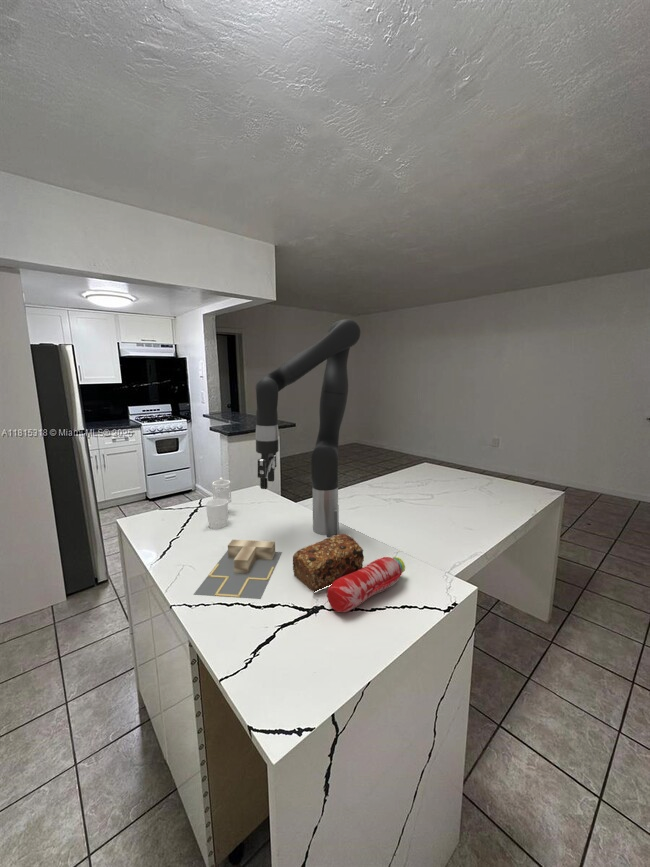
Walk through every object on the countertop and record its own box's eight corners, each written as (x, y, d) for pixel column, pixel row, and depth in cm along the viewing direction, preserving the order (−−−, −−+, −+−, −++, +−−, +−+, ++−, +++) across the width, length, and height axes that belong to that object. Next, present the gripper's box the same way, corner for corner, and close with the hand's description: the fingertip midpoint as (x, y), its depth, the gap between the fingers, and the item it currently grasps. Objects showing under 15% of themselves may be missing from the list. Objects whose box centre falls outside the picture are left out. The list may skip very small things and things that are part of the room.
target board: (282, 554, 114) (282, 551, 114) (260, 602, 90) (260, 598, 90) (228, 552, 116) (228, 548, 116) (193, 598, 92) (193, 593, 92)
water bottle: (313, 574, 91) (378, 544, 107) (316, 605, 91) (381, 570, 107) (344, 588, 82) (411, 553, 97) (348, 622, 82) (414, 582, 98)
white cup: (223, 532, 130) (221, 506, 128) (203, 530, 132) (201, 505, 130) (232, 523, 138) (231, 499, 136) (214, 522, 139) (212, 497, 138)
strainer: (231, 510, 151) (229, 476, 149) (232, 516, 145) (230, 481, 142) (214, 512, 149) (211, 478, 146) (214, 518, 142) (212, 483, 140)
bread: (342, 558, 112) (342, 528, 110) (365, 573, 103) (365, 541, 102) (291, 578, 101) (290, 545, 100) (312, 597, 93) (311, 561, 91)
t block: (275, 553, 113) (275, 541, 112) (264, 574, 101) (264, 561, 100) (233, 551, 114) (232, 539, 114) (217, 571, 103) (217, 558, 102)
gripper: (272, 442, 111) (272, 492, 113) (283, 434, 125) (283, 479, 127) (249, 441, 112) (250, 491, 114) (262, 434, 126) (263, 478, 128)
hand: (267, 484), depth 121 cm, fingers open, 8 cm apart
